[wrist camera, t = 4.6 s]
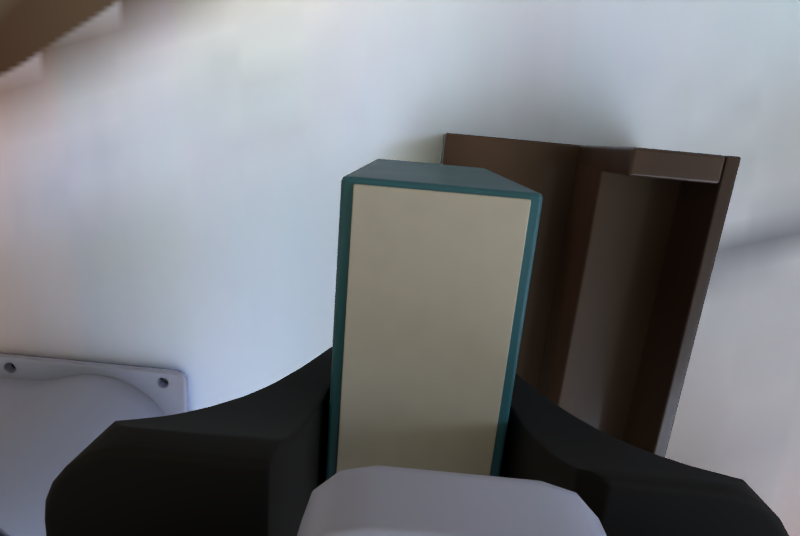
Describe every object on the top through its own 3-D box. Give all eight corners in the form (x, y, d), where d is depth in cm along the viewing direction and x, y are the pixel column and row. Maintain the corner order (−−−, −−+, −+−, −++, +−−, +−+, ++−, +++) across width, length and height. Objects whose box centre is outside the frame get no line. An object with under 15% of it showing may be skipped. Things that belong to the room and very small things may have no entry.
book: (352, 500, 16) (310, 729, 10) (376, 158, 14) (340, 176, 7) (443, 509, 16) (459, 744, 10) (486, 168, 14) (545, 194, 7)
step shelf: (412, 419, 23) (411, 519, 17) (443, 133, 20) (456, 130, 14) (583, 435, 23) (643, 542, 17) (641, 151, 20) (741, 157, 14)
